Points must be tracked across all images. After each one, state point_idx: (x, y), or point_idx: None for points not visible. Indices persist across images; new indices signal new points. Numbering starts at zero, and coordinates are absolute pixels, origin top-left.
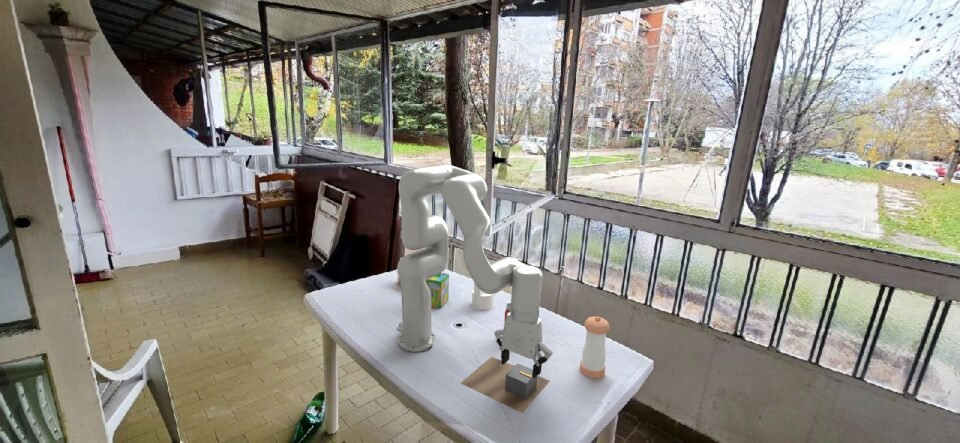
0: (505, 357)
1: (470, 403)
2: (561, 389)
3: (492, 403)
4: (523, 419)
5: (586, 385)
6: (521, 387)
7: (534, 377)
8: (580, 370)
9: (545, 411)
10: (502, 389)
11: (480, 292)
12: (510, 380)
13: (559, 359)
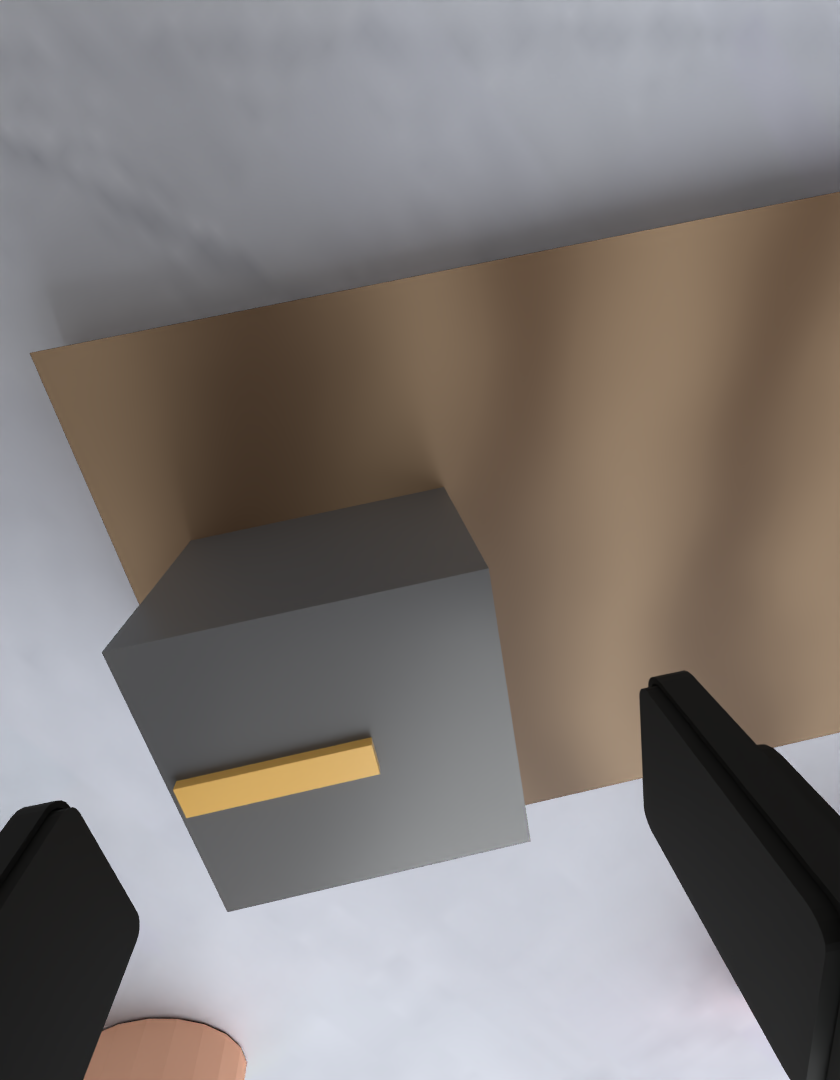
0: (707, 817)
1: (618, 59)
2: (168, 857)
3: None
4: (39, 341)
5: None
6: (215, 583)
7: (12, 822)
8: (191, 1076)
9: (18, 591)
10: (472, 475)
11: None
12: (393, 560)
13: (421, 1028)
